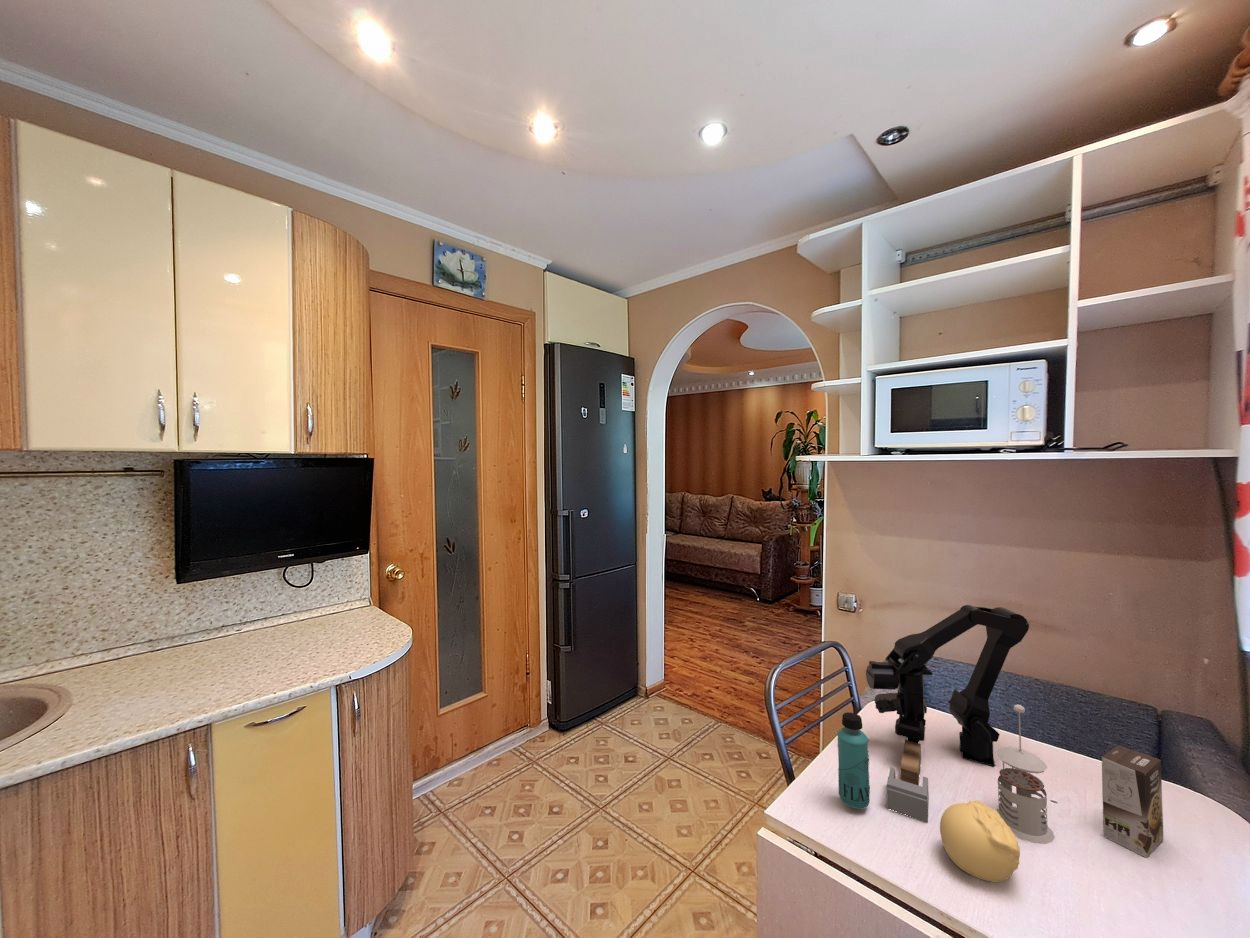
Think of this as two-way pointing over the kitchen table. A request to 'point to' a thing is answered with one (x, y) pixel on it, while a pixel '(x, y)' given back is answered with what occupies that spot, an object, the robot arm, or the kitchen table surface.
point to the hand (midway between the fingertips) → (912, 748)
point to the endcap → (908, 797)
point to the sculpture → (979, 841)
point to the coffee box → (1132, 800)
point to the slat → (911, 762)
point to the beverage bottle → (853, 762)
